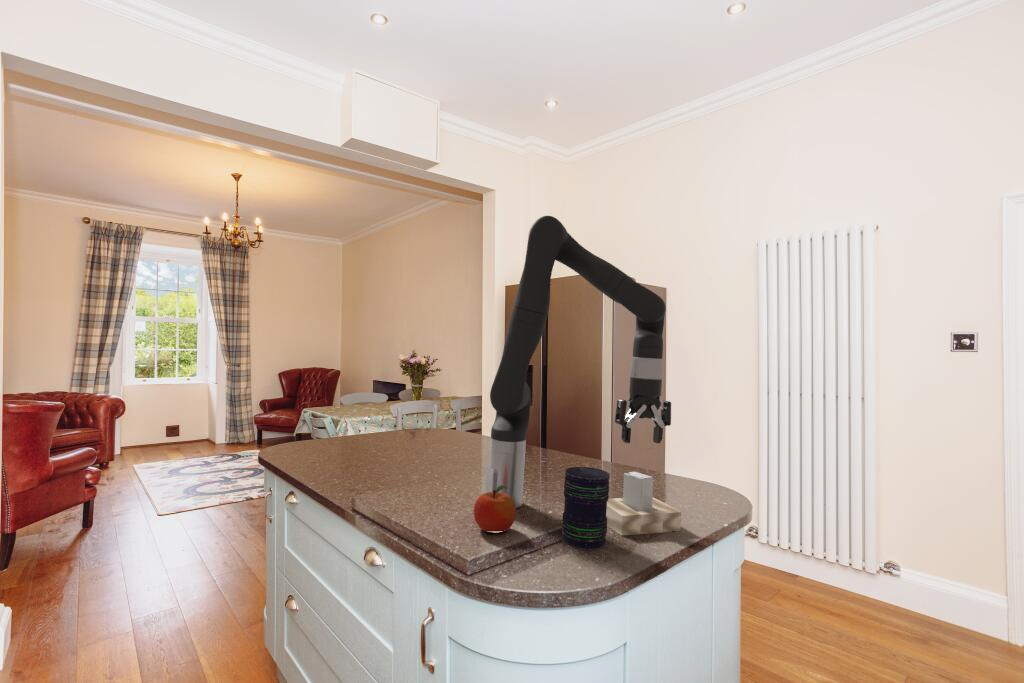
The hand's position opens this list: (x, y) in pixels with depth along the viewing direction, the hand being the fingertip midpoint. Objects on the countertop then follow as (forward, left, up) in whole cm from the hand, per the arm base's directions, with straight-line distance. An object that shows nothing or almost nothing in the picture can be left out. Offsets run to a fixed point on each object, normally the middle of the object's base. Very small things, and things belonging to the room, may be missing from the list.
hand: (641, 442), depth 123 cm
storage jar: (-18, -7, -20) cm, 28 cm away
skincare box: (0, 0, -20) cm, 20 cm away
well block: (0, 0, -20) cm, 20 cm away
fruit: (-36, +2, -20) cm, 41 cm away
